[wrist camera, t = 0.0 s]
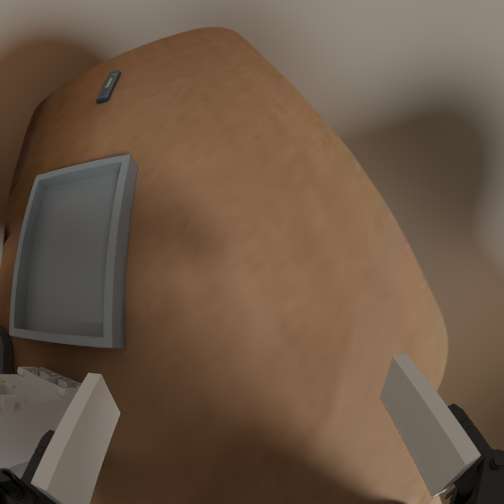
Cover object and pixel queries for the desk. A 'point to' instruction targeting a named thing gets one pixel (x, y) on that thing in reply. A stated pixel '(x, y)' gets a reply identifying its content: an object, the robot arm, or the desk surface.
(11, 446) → the circuit breaker
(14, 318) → the tray
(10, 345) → the media streaming box
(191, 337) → the desk surface
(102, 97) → the usb stick
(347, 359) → the desk surface
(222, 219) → the desk surface
